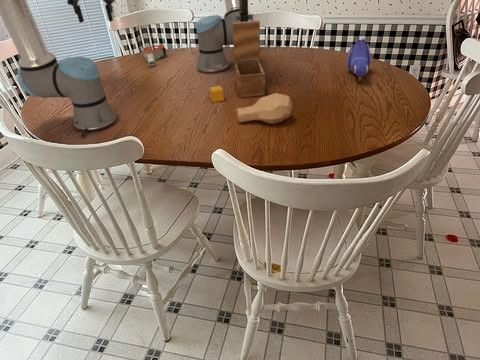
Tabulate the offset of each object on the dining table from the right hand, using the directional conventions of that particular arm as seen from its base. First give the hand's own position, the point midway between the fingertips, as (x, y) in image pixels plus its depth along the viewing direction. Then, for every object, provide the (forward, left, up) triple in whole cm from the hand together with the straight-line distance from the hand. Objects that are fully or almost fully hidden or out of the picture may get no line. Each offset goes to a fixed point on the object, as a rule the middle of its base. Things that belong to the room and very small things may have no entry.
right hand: (244, 29), depth 148 cm
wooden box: (+10, -5, -21) cm, 24 cm away
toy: (+28, +41, -21) cm, 54 cm away
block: (+11, -21, -21) cm, 32 cm away
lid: (+5, -2, -4) cm, 7 cm away
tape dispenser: (-57, -24, -21) cm, 66 cm away
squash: (+38, -16, -21) cm, 47 cm away
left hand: (-42, -50, +5) cm, 66 cm away
